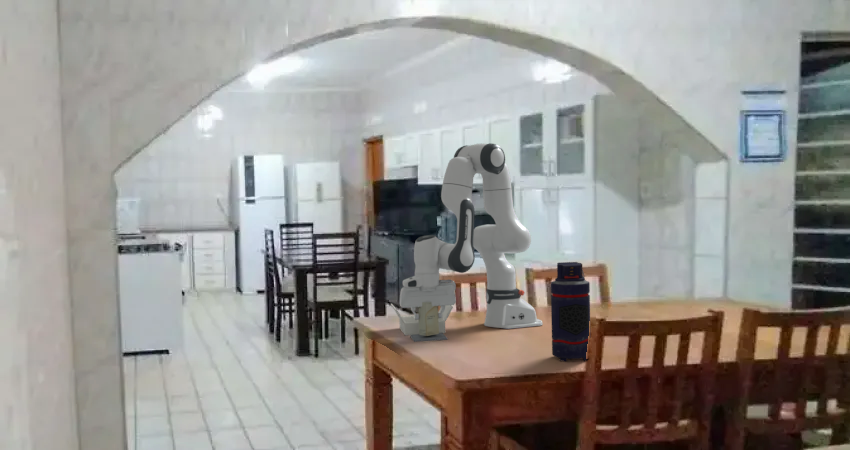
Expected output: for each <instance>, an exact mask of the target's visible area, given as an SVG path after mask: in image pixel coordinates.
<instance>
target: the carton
mask: <svg viewBox="0 0 850 450" xmlns="http://www.w3.org/2000/svg"><path fill="white" fill-rule="evenodd" d="M390 305H391V307H392V309H393V310H394V312H395V313H396V315H397V317H398V319H399V321H398V322H399V329H400V331H401V332H402V334H403V335H404V336H410V335H415V334H419V319H418V320H415V319H414V315H406V316H405V315H403V316H402V315H401V314H400V312H399V310H398V309H397V308H396V307H395V305H394V304H393V303H390ZM453 306H454V305H445V310H444V312H443V313H442V318H438V323H439V333H443V334H445V333H446V322H447V319H448V318H449V315H450V314H451V312H452V310H453V309H454V307H453ZM439 308H440V307H439ZM441 309H442V308H440V309H438V313H440V311H441Z"/></svg>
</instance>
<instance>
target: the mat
mask: <svg viewBox="0 0 850 450" xmlns="http://www.w3.org/2000/svg"><path fill="white" fill-rule="evenodd" d="M409 337H410V338H411V340H412V341H413V342H414V343H415V342H429V341H430V342H431V341H432V342H433V341H445V340H446V341H447V340H448V337H447V335H445V333H439V334H436V335H430V336H422V335H419V334H415V335H409Z"/></svg>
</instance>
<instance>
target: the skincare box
mask: <svg viewBox="0 0 850 450" xmlns="http://www.w3.org/2000/svg"><path fill="white" fill-rule="evenodd" d="M417 310H418V311H417V312H418V313H417V314H419V335H422V336H430V335H436V334H439V323H438V312H439V306H432V302H422V307H417Z"/></svg>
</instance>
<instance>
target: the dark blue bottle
mask: <svg viewBox="0 0 850 450" xmlns="http://www.w3.org/2000/svg"><path fill="white" fill-rule="evenodd" d="M556 267H557V268H556V270H557V272H556V273H557V274H556V275H557V276H556V277H555V279H554V280H553V281H551V282H550V293H551V294H550V304H551V305H550V306H551V307H550V310H551V311H550V312H551V315H550V316H551V339H552V340H551V352H552V353H551V354H552V356H554V357H555V358H558V359H559V361H560V362H563V363H565V362H567V361H568V360H572V359H573V360H574V359H575V360H578V359H583V361H585V360H586V352H587V344H588V336H589V321H590V322H591V296H590V294H589V293H590V289H591V288H590V284H591V283H590V281H588V280H587V279H585V272H584V271H583V270H584V269H583V263H581V262H579V261H569V262H568V261H566V262H557V265H556ZM586 361H587V360H586Z"/></svg>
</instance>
